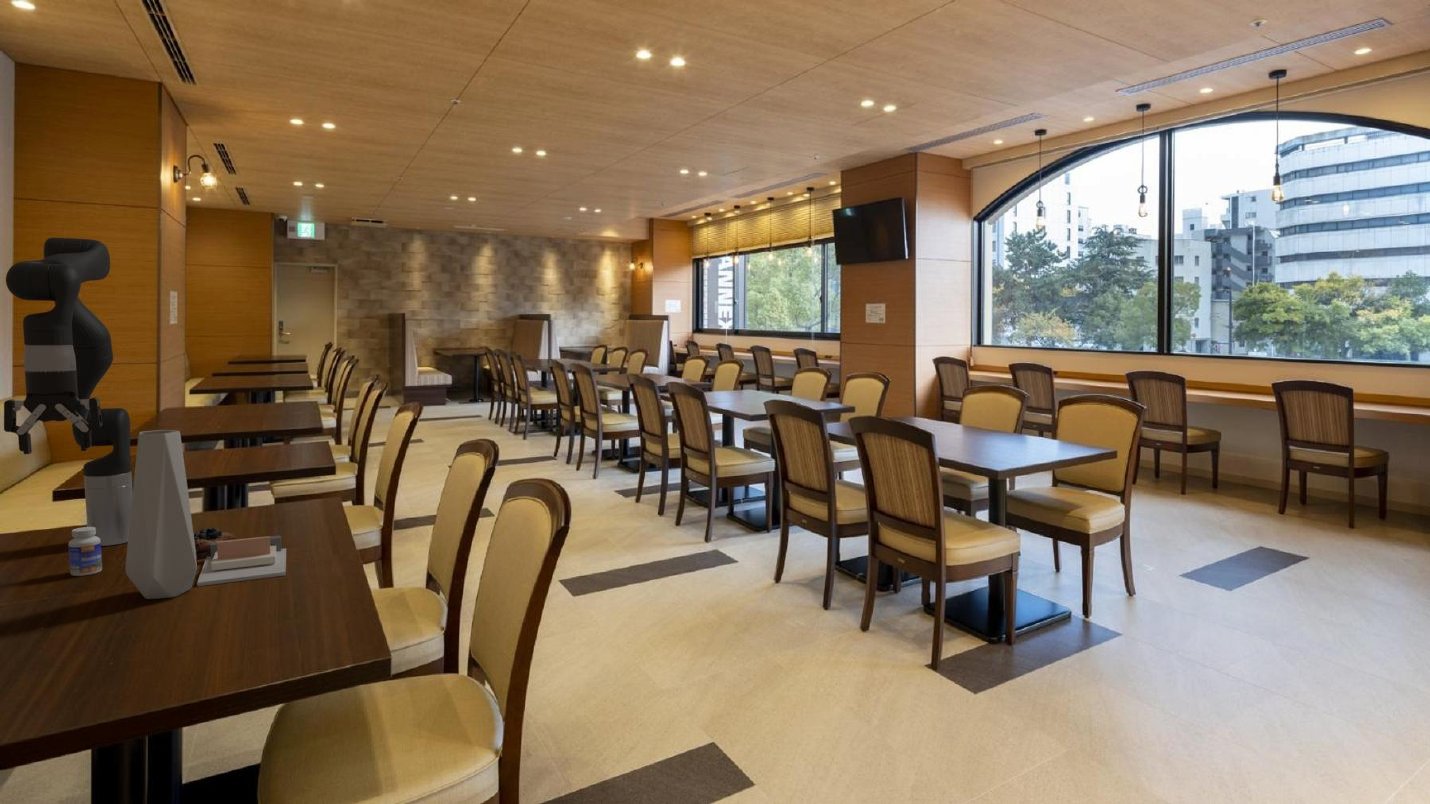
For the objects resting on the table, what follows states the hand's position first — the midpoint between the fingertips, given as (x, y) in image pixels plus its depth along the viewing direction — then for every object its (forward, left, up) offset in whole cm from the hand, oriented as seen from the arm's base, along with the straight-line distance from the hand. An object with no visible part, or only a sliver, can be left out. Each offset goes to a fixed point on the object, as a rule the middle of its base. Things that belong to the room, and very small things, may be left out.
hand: (56, 452), depth 148 cm
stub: (-6, +30, -28) cm, 41 cm away
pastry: (-25, +21, -30) cm, 44 cm away
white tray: (-7, +30, -29) cm, 42 cm away
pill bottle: (-18, 0, -30) cm, 35 cm away
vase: (+5, +17, -29) cm, 34 cm away
